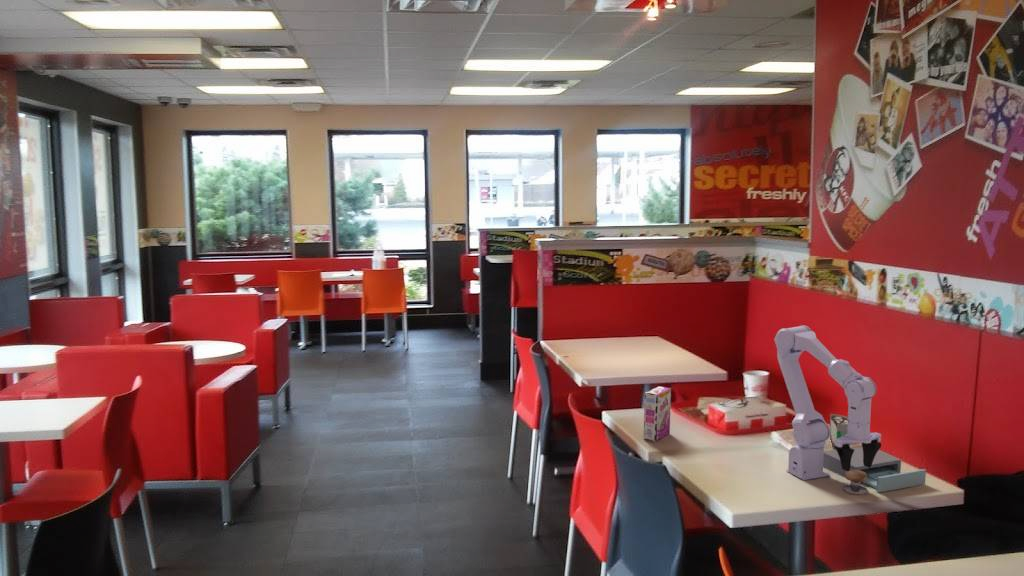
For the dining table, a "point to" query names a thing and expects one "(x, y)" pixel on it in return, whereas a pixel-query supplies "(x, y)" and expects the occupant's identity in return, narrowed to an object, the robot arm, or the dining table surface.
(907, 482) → the drawer
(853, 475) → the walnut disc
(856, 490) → the disc stand
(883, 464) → the cabinet
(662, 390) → the candy bar box
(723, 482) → the dining table surface
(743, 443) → the dining table surface
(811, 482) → the dining table surface
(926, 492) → the dining table surface
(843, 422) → the food container
